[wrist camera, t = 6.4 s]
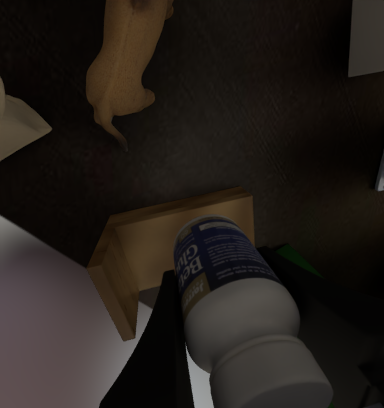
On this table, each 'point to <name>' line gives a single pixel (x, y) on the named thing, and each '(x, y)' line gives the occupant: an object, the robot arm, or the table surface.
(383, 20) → the alarm clock
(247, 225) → the shelf
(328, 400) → the pill bottle
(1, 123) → the decorative ornament
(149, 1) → the lion figurine
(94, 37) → the table surface
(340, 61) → the table surface
